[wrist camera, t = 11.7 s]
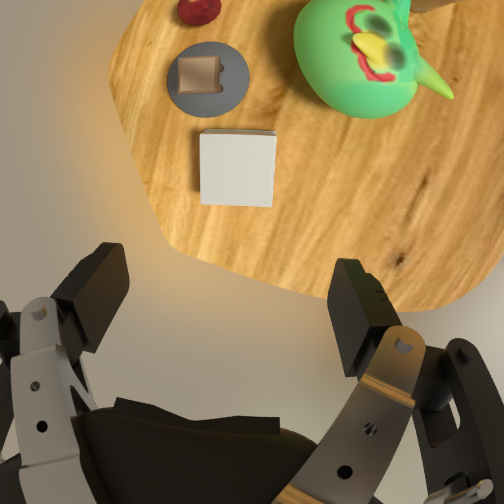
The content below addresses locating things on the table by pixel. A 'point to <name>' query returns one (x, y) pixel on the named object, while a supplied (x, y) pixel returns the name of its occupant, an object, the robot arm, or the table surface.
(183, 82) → the walnut stool
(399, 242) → the table surface
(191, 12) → the onion
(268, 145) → the white square box
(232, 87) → the charcoal felt mat
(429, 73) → the toy bird
